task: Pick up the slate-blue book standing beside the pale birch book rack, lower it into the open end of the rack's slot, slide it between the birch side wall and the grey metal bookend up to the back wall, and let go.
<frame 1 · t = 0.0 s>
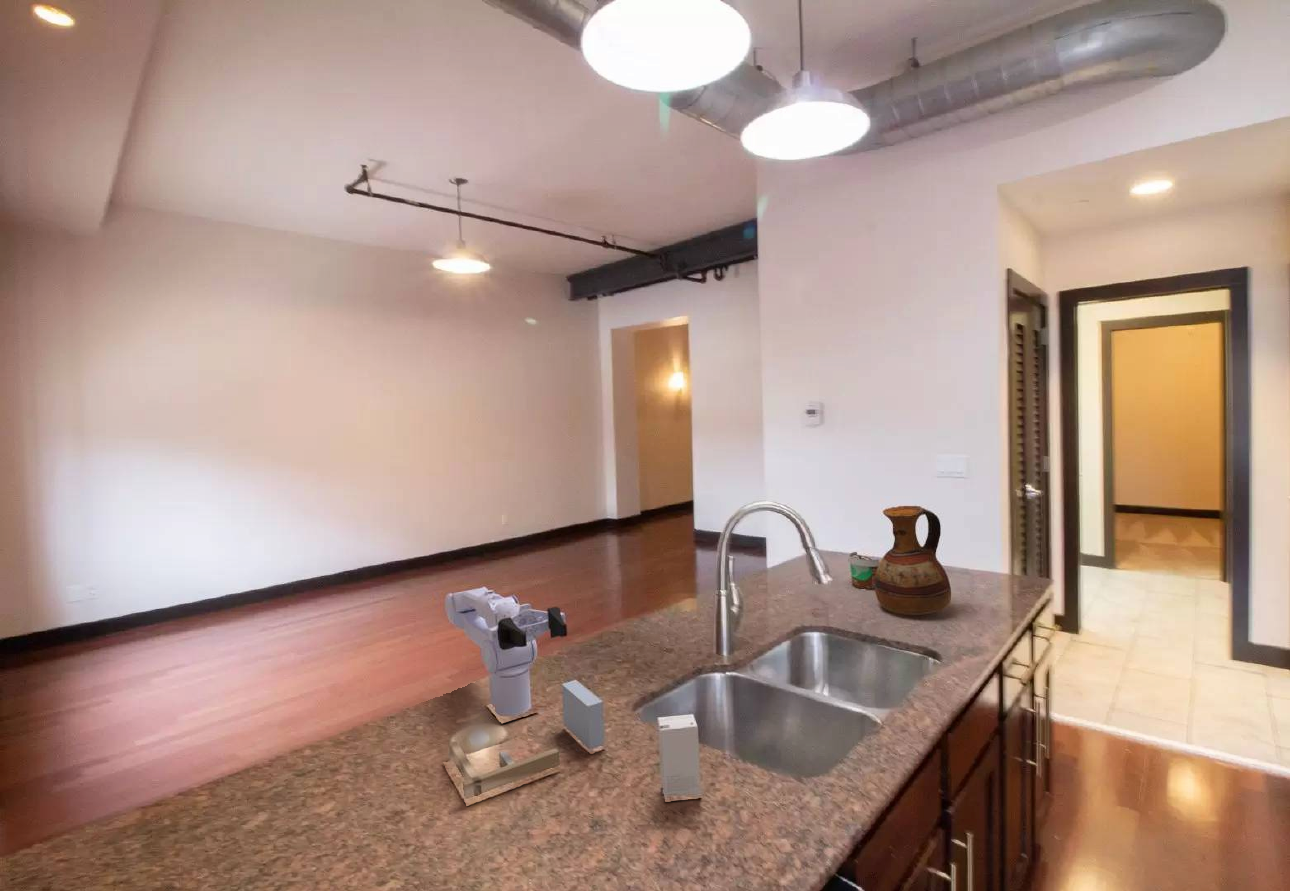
hand: (545, 635, 110), 22 cm above the worktop, tool horizontal, fingers open, 7 cm apart
ceramic pitcher: (912, 610, 179), on the worktop
food container: (859, 587, 202), on the worktop
book rack: (500, 768, 108), on the worktop
book: (583, 739, 117), on the worktop
skincare box: (680, 795, 99), on the worktop
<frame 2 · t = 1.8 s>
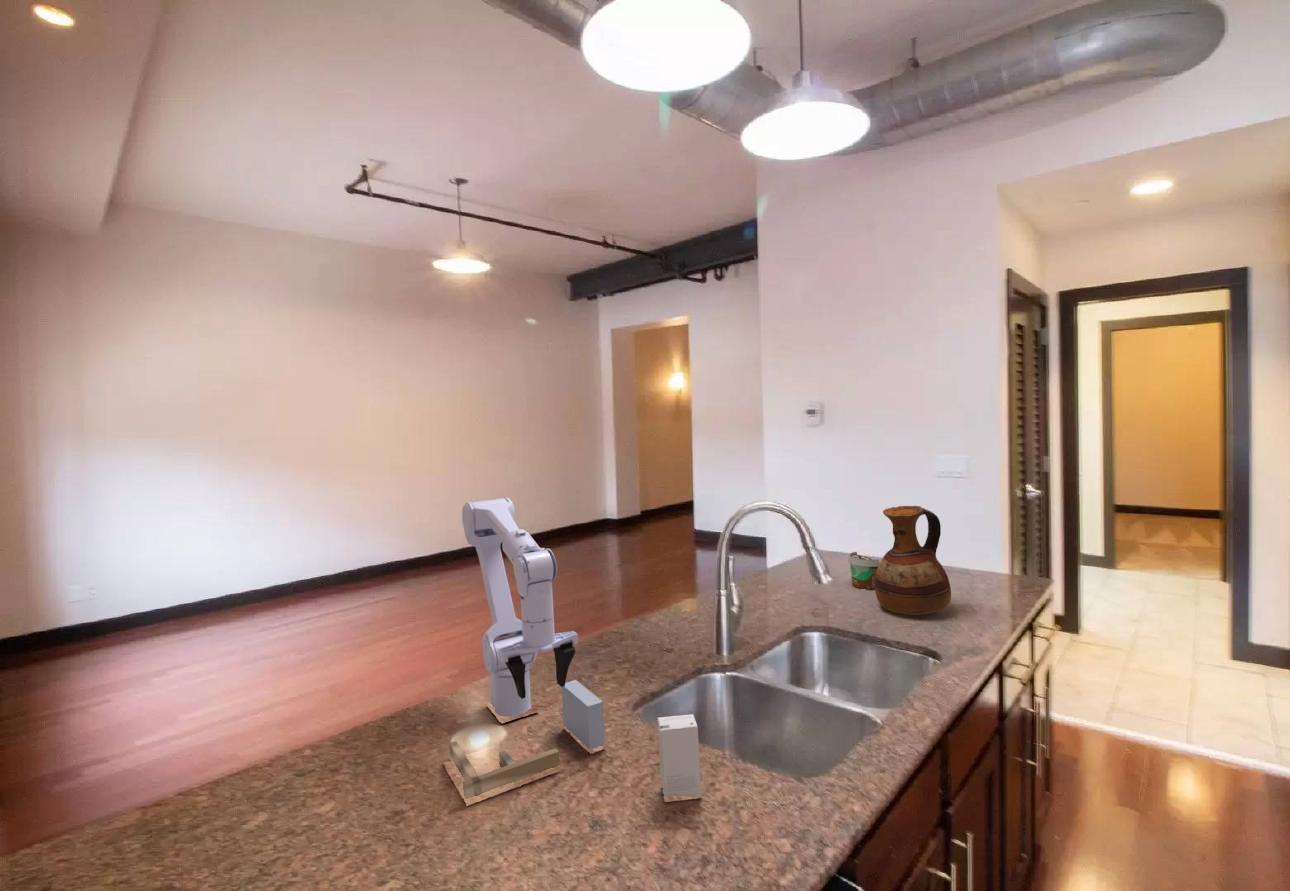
hand: (541, 690, 114), 10 cm above the worktop, tool pointing down, fingers open, 7 cm apart
nothing on the worktop moved.
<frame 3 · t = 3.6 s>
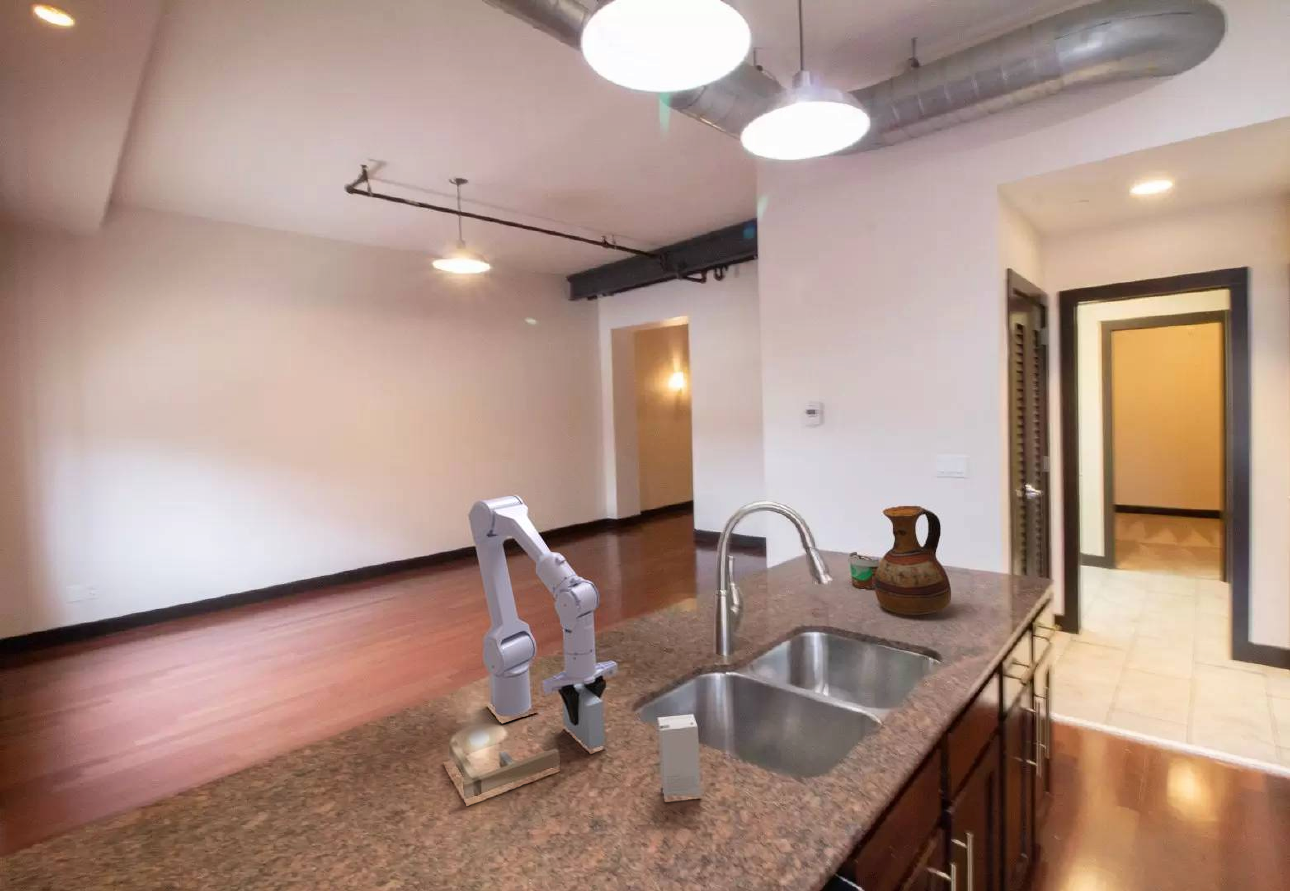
hand: (582, 720, 116), 4 cm above the worktop, tool pointing down, fingers closed on book, 3 cm apart
book: (583, 739, 117), on the worktop, touching gripper
everything else where it was.
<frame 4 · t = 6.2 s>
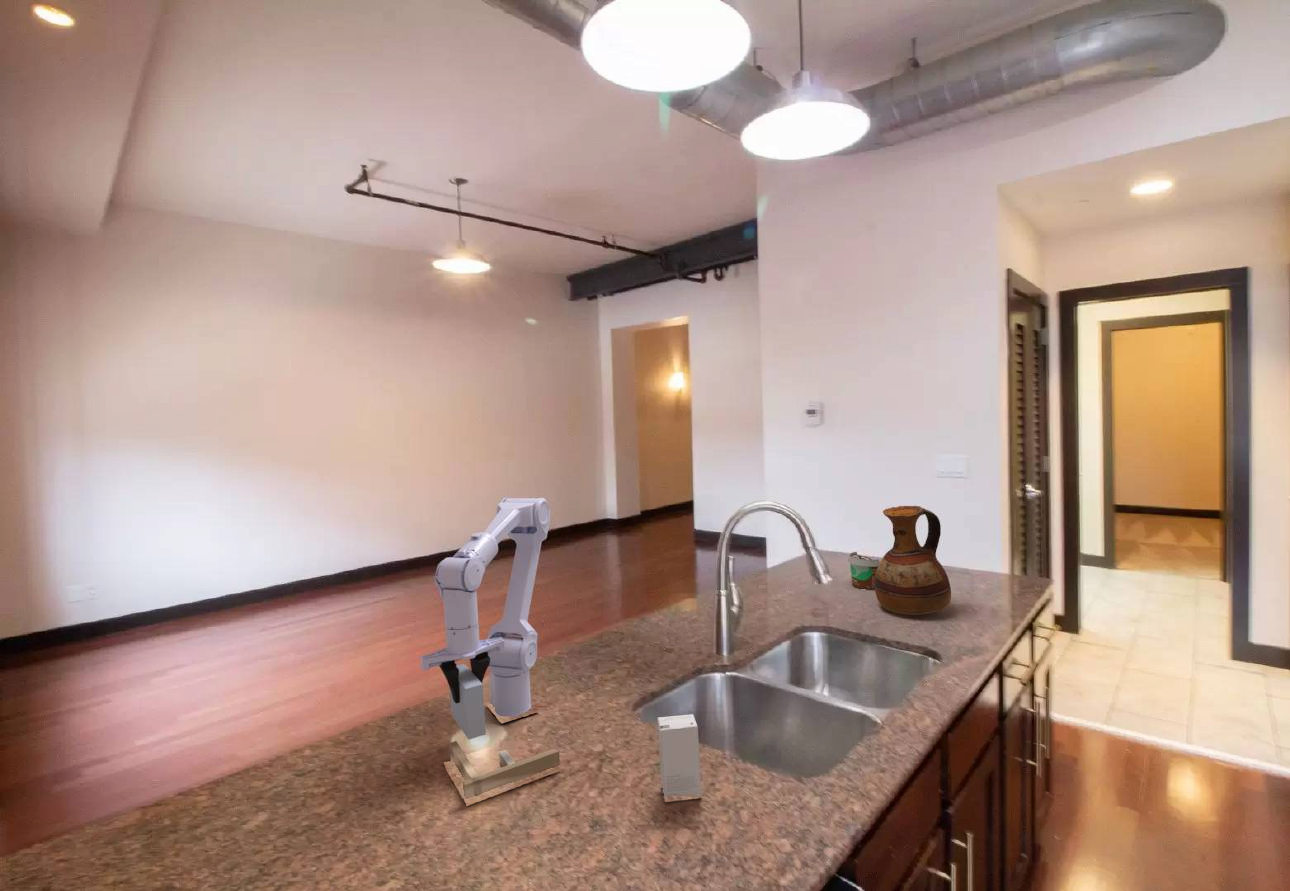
hand: (466, 698, 112), 10 cm above the worktop, tool pointing down, fingers closed on book, 3 cm apart
book: (467, 724, 113), point 5 cm above the worktop, touching gripper
everything else where it was.
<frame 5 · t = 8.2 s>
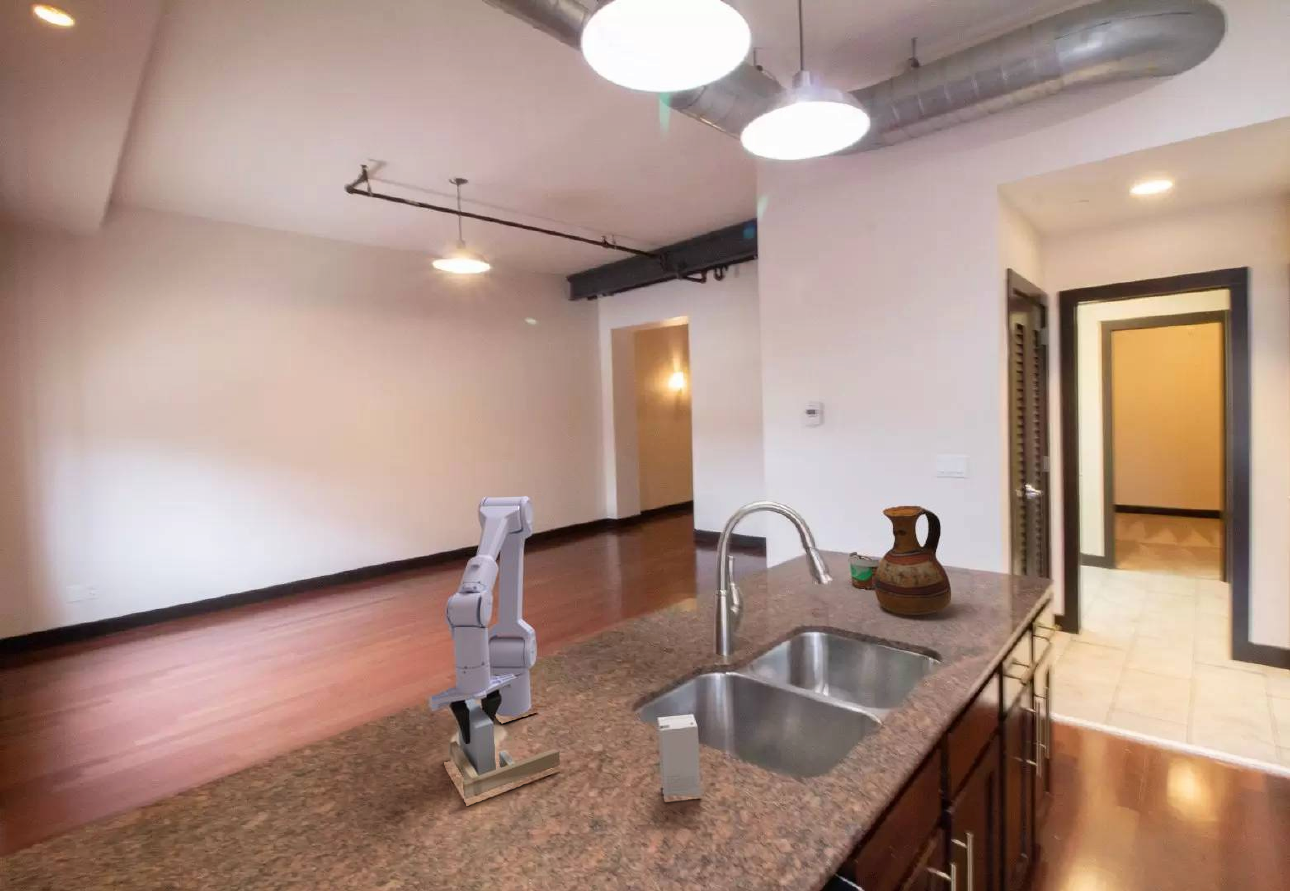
hand: (476, 738, 108), 5 cm above the worktop, tool pointing down, fingers closed on book, 3 cm apart
book: (477, 762, 109), point 1 cm above the worktop, touching gripper
everything else where it was.
when the fingers open (5 cm above the worktop, at t = 9.1 s): book stays where it is, resting on book rack.
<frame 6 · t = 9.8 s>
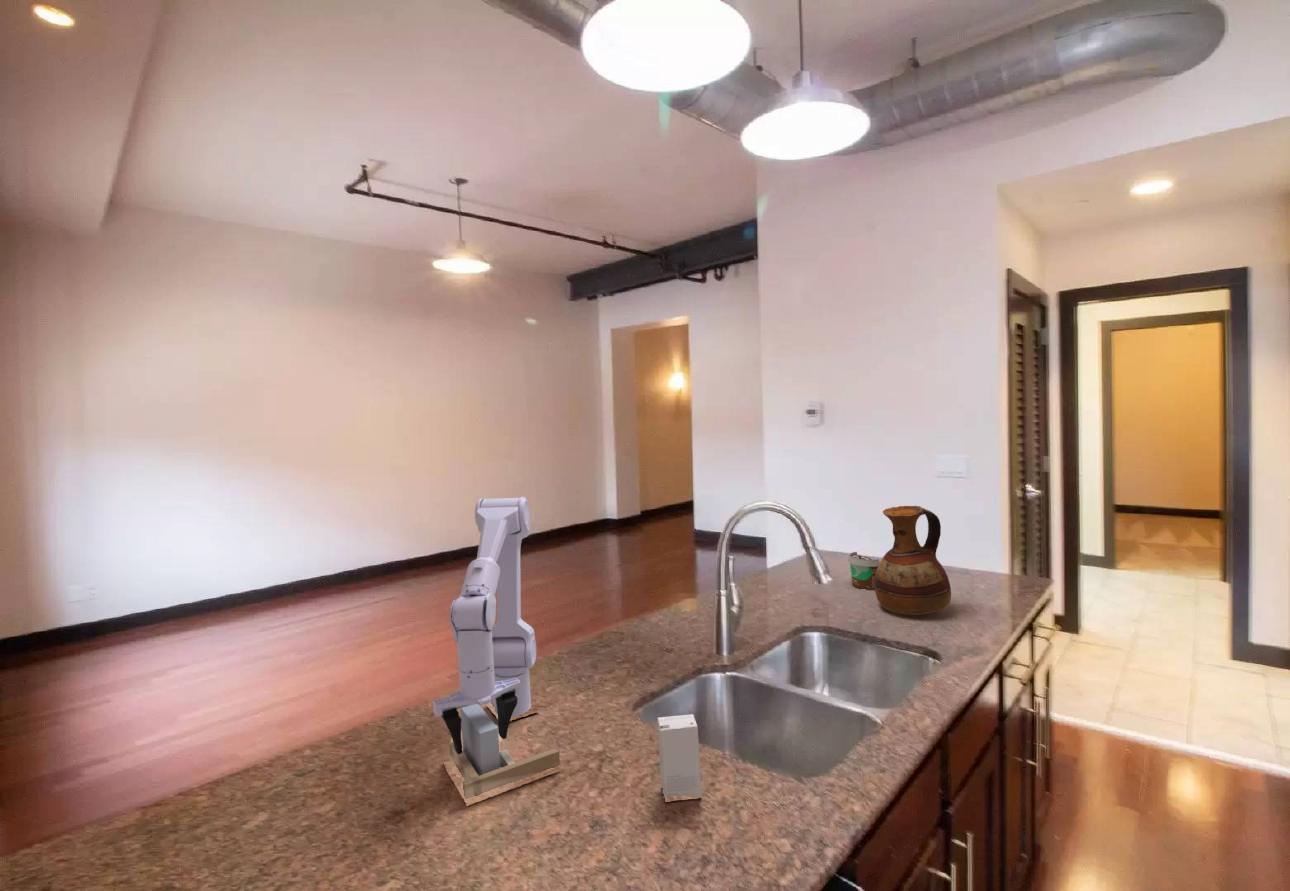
hand: (481, 743, 106), 5 cm above the worktop, tool pointing down, fingers open, 7 cm apart
book: (481, 767, 107), point 1 cm above the worktop, touching book rack
everything else where it was.
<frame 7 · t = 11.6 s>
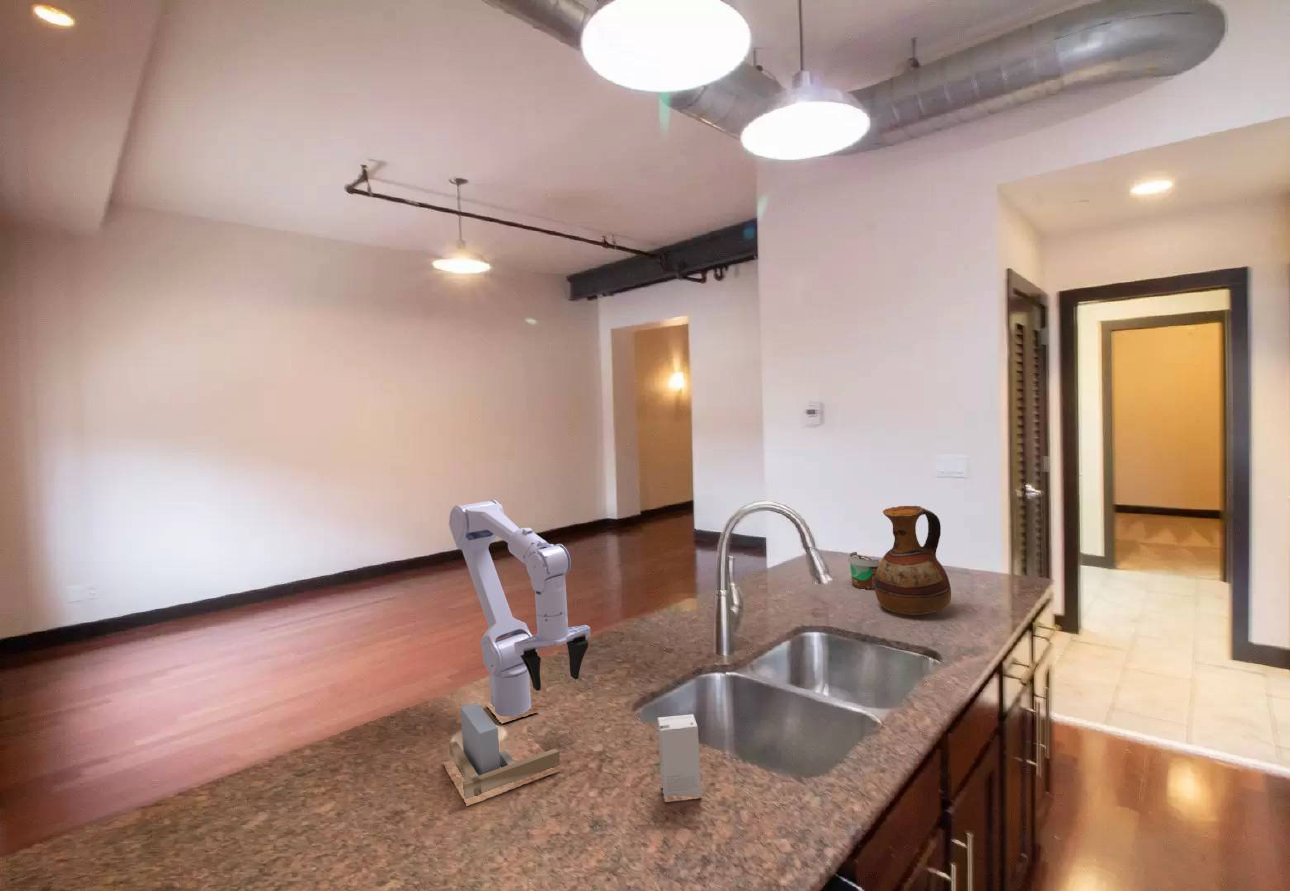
hand: (556, 683, 117), 10 cm above the worktop, tool pointing down, fingers open, 7 cm apart
nothing on the worktop moved.
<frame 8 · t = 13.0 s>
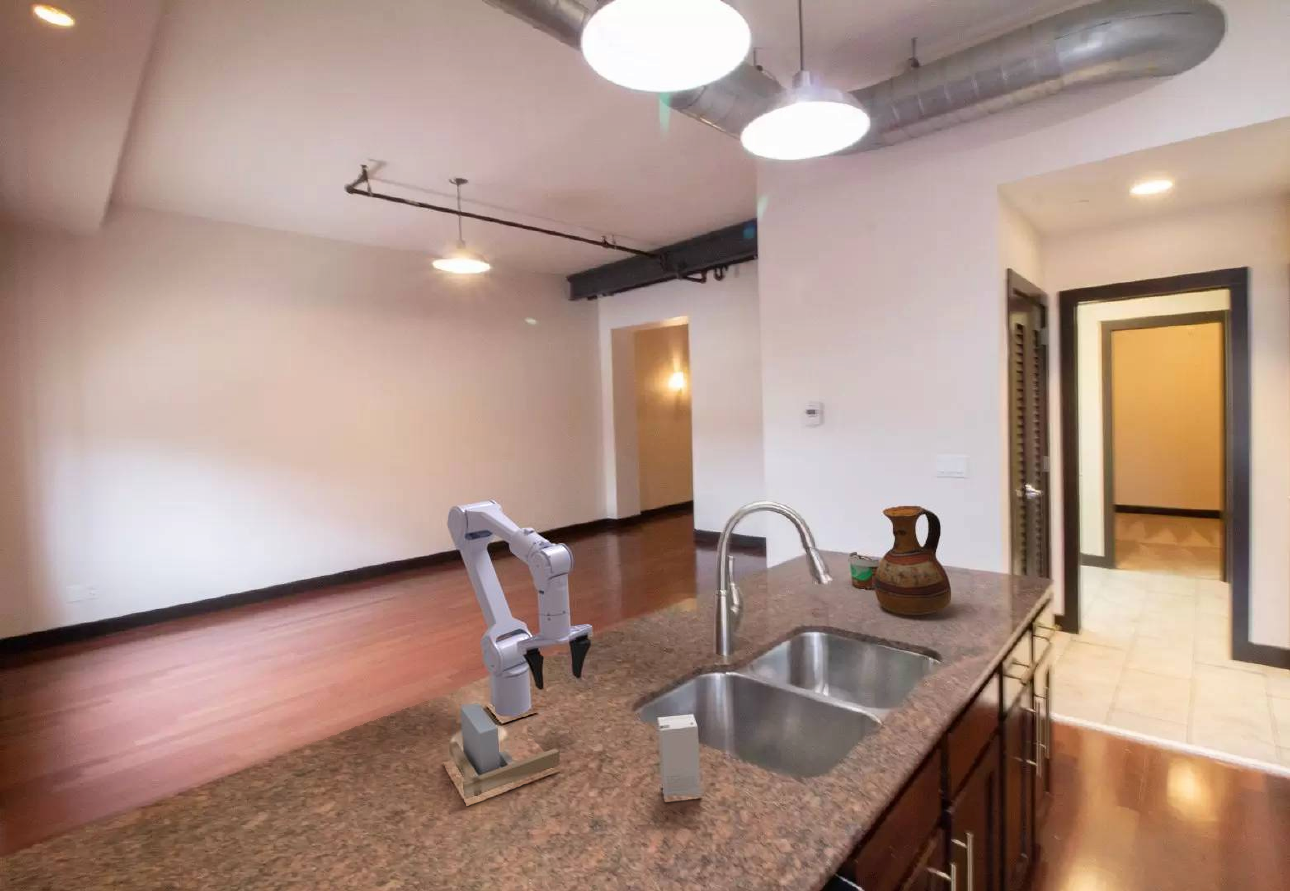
hand: (558, 681, 117), 10 cm above the worktop, tool pointing down, fingers open, 7 cm apart
nothing on the worktop moved.
at the end: book 0.4 cm from the target spot on the book rack, point 0.6 cm above the book rack's base; book tilted 0°; the gripper is holding nothing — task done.
